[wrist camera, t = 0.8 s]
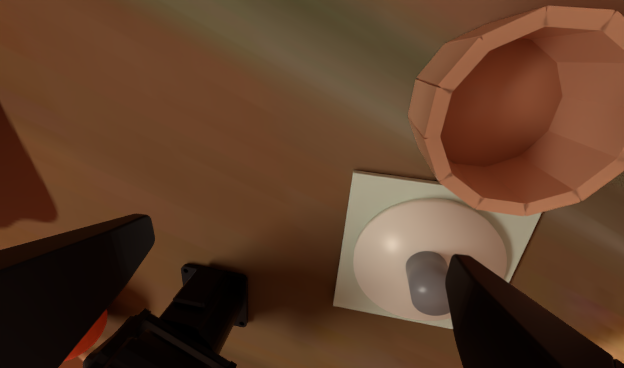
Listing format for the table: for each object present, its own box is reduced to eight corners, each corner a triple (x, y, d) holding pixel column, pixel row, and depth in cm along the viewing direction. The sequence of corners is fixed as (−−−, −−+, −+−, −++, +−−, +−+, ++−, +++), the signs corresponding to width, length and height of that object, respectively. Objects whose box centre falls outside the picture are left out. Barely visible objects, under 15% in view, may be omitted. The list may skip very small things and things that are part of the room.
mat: (481, 329, 25) (484, 335, 25) (333, 300, 27) (332, 305, 26) (542, 196, 20) (547, 200, 19) (353, 169, 21) (353, 172, 21)
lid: (475, 324, 24) (494, 370, 21) (345, 299, 26) (342, 338, 22) (525, 210, 20) (561, 244, 16) (364, 187, 21) (364, 213, 18)
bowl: (532, 180, 20) (597, 227, 14) (397, 162, 21) (408, 199, 15) (597, 31, 16) (717, 16, 10) (428, 19, 17) (458, -1, 12)
